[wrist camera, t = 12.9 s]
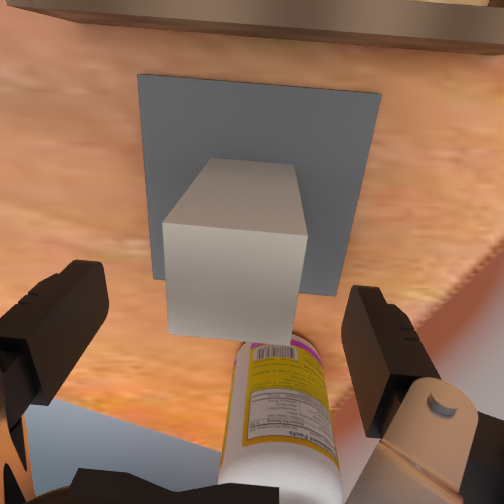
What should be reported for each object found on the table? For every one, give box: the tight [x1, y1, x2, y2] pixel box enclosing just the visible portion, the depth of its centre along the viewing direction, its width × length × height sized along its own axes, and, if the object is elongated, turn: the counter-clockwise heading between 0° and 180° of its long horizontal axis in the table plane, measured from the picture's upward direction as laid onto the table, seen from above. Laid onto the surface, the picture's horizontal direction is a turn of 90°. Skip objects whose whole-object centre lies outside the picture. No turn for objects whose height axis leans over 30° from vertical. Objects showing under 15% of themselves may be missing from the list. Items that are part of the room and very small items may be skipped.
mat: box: [137, 74, 382, 297], centre depth 20 cm, size 12×12×1 cm
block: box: [162, 158, 308, 346], centre depth 15 cm, size 4×4×9 cm
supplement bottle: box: [218, 334, 343, 504], centre depth 21 cm, size 7×7×13 cm
